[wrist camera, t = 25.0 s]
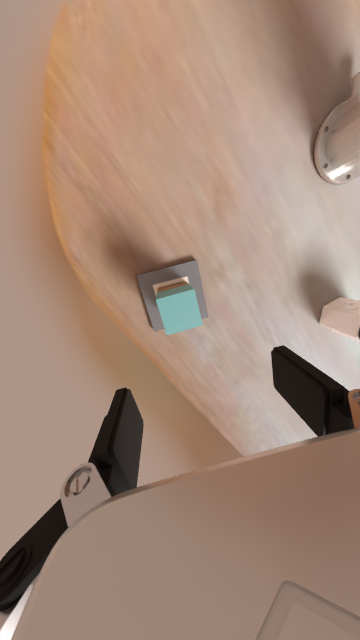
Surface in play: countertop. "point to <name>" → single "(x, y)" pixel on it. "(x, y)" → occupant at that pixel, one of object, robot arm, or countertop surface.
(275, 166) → the countertop surface
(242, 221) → the countertop surface
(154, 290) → the grey square plate
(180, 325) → the teal block
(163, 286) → the walnut block
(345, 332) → the jar
